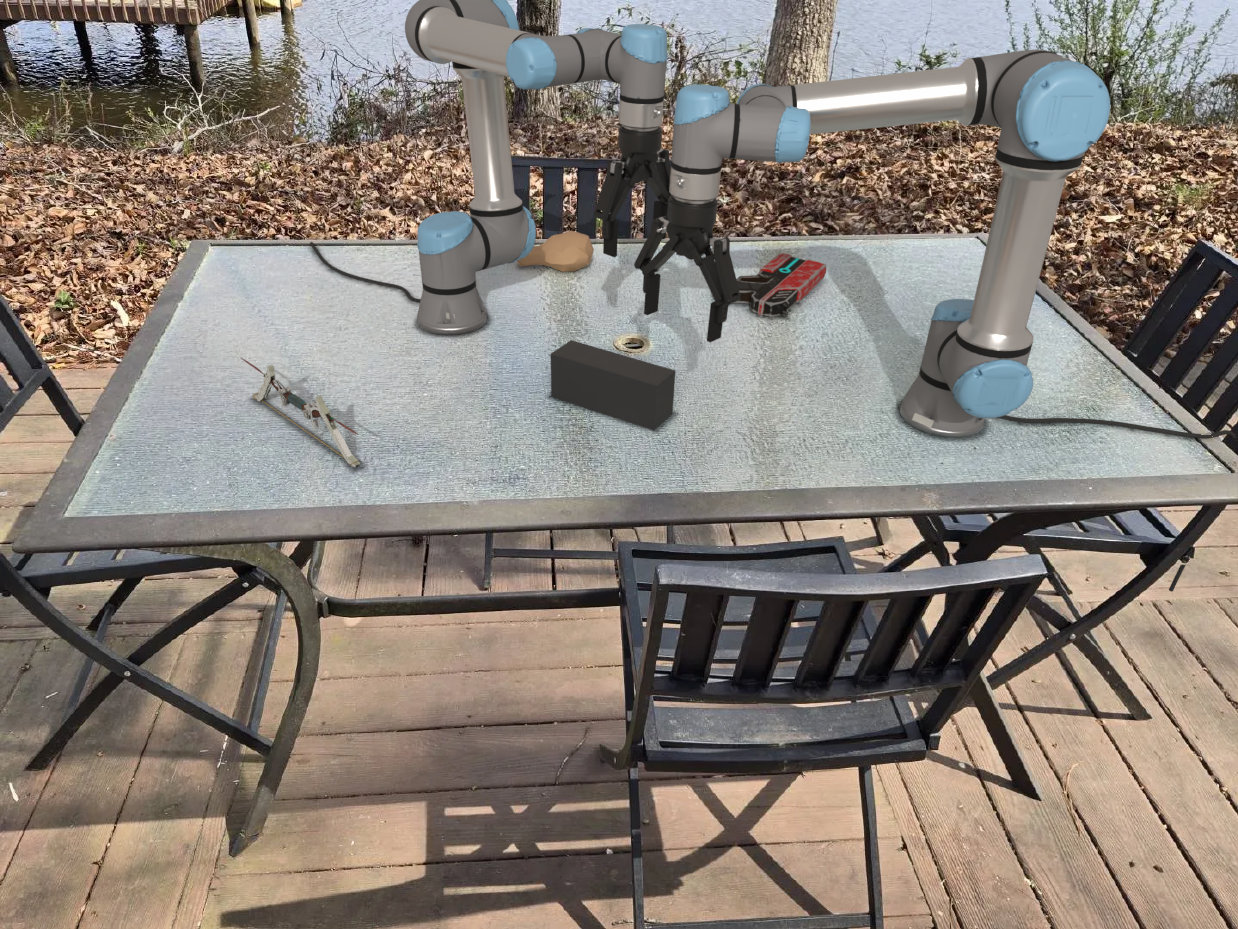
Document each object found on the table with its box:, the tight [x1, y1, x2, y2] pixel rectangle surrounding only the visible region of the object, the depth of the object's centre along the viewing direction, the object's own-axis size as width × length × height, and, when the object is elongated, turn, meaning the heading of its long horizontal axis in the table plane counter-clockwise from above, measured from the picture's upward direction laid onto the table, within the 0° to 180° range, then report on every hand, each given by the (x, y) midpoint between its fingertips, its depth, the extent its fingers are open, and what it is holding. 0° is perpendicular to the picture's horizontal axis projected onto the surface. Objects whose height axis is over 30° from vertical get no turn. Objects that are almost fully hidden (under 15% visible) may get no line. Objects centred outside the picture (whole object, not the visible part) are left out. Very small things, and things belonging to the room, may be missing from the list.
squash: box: [516, 230, 595, 273], centre depth 224 cm, size 11×20×9 cm, turn 90°
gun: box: [711, 252, 827, 318], centre depth 215 cm, size 4×31×19 cm
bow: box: [240, 356, 362, 468], centre depth 154 cm, size 39×2×10 cm, turn 47°
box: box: [550, 339, 676, 431], centre depth 165 cm, size 23×7×9 cm, turn 59°
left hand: (635, 245), depth 162 cm, fingers open, 13 cm apart
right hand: (681, 325), depth 144 cm, fingers open, 13 cm apart
